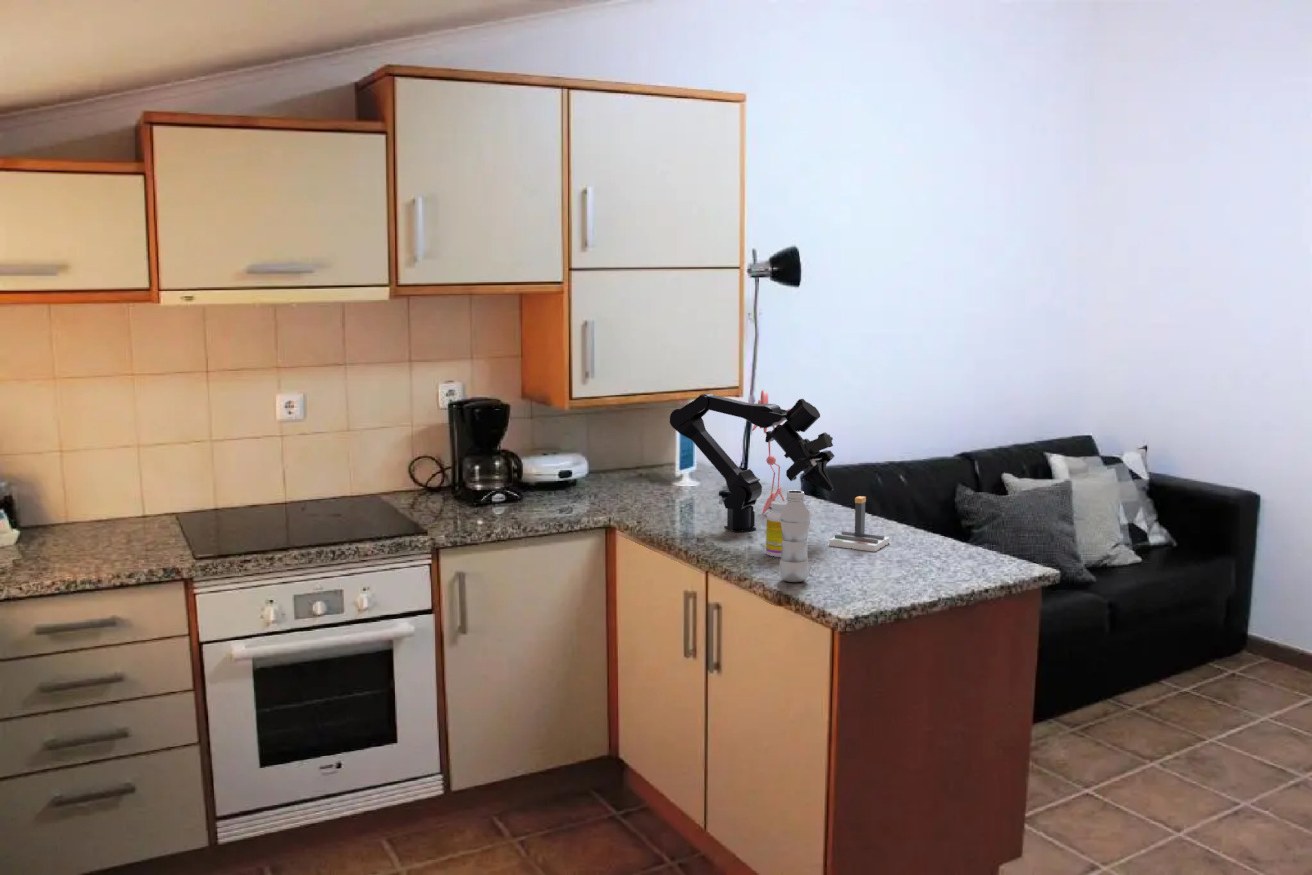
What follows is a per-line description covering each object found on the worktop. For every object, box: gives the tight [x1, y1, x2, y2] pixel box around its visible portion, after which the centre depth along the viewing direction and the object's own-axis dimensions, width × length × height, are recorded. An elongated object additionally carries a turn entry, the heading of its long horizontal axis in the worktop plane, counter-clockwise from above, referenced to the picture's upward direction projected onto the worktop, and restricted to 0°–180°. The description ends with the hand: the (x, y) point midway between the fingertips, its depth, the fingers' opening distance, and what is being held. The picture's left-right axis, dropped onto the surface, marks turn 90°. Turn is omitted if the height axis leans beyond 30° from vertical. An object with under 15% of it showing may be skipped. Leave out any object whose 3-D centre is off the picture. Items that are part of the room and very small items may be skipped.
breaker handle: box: [854, 495, 867, 537], centre depth 276 cm, size 2×3×10 cm, turn 148°
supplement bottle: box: [765, 500, 788, 558], centre depth 266 cm, size 7×7×13 cm
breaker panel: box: [828, 530, 890, 552], centre depth 277 cm, size 12×10×2 cm
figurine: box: [751, 388, 791, 515], centre depth 317 cm, size 15×26×35 cm, turn 162°
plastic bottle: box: [778, 490, 812, 583], centre depth 242 cm, size 6×7×20 cm
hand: (832, 490), depth 279 cm, fingers closed
